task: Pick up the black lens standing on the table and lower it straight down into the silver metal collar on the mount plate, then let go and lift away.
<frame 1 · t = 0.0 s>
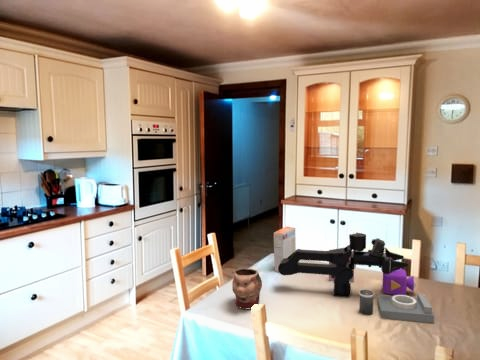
hand: (405, 260, 149), 17 cm above the table, tool horizontal, fingers open, 9 cm apart
mount: (403, 311, 140), on the table
toy camera: (398, 292, 158), on the table
lens: (366, 312, 141), on the table
decorative planter: (247, 303, 151), on the table
cracker box: (285, 269, 190), on the table
greeting card: (340, 279, 174), on the table
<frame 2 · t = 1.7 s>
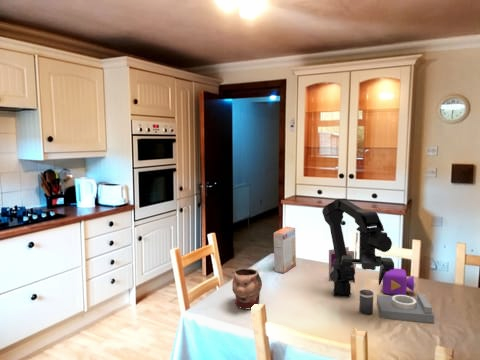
hand: (366, 283, 140), 11 cm above the table, tool pointing down, fingers open, 9 cm apart
nothing on the table moved.
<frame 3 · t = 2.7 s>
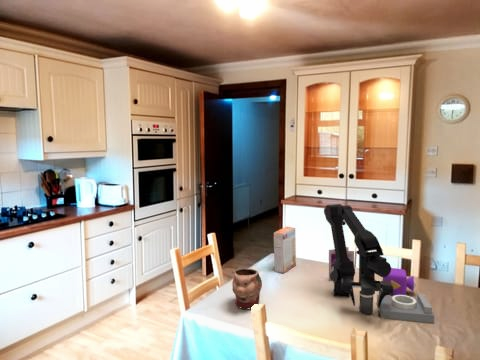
hand: (366, 306, 141), 2 cm above the table, tool pointing down, fingers open, 8 cm apart
nothing on the table moved.
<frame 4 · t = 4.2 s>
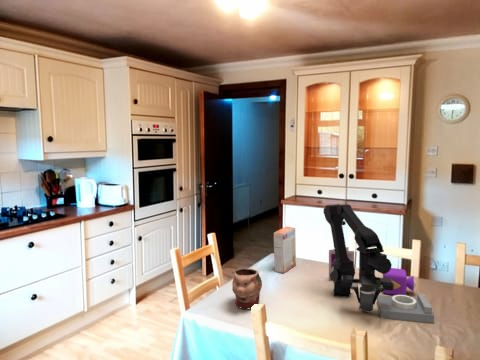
hand: (366, 303, 140), 3 cm above the table, tool pointing down, fingers closed on lens, 5 cm apart
lens: (366, 308, 141), point 1 cm above the table, touching gripper
everything else where it was.
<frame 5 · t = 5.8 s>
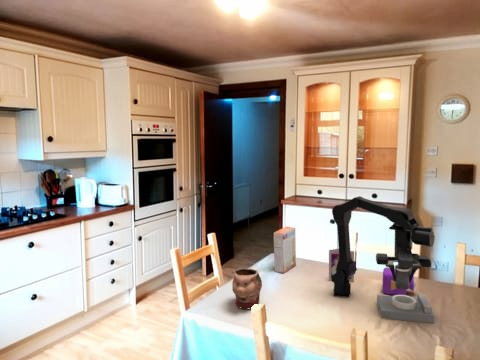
hand: (402, 281, 139), 12 cm above the table, tool pointing down, fingers closed on lens, 5 cm apart
lens: (402, 286, 139), point 10 cm above the table, touching gripper
everything else where it was.
when the fingers open (6 cm above the table, at t = 8.1 s): lens stays where it is, resting on mount.
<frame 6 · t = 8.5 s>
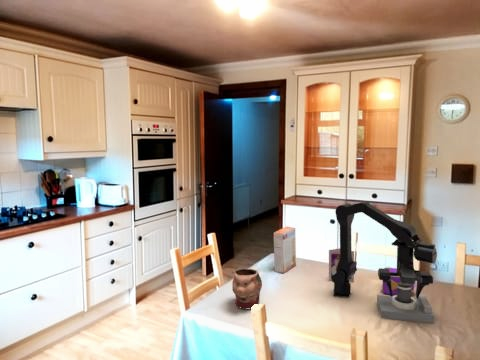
hand: (403, 297, 139), 6 cm above the table, tool pointing down, fingers open, 9 cm apart
lens: (403, 304, 140), point 3 cm above the table, touching mount
everything else where it was.
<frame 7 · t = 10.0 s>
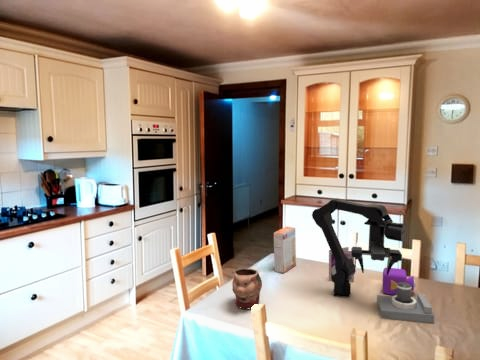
hand: (374, 273, 147), 12 cm above the table, tool pointing down, fingers open, 9 cm apart
nothing on the table moved.
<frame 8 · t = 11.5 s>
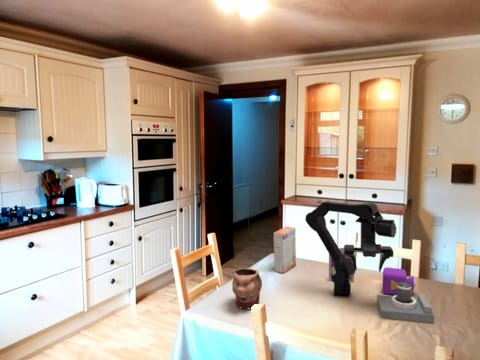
hand: (367, 270, 149), 13 cm above the table, tool pointing down, fingers open, 9 cm apart
nothing on the table moved.
at the end: lens 0.1 cm off-centre on the mount, point 3.0 cm above the mount's base; lens tilted 0°; the gripper is holding nothing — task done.
